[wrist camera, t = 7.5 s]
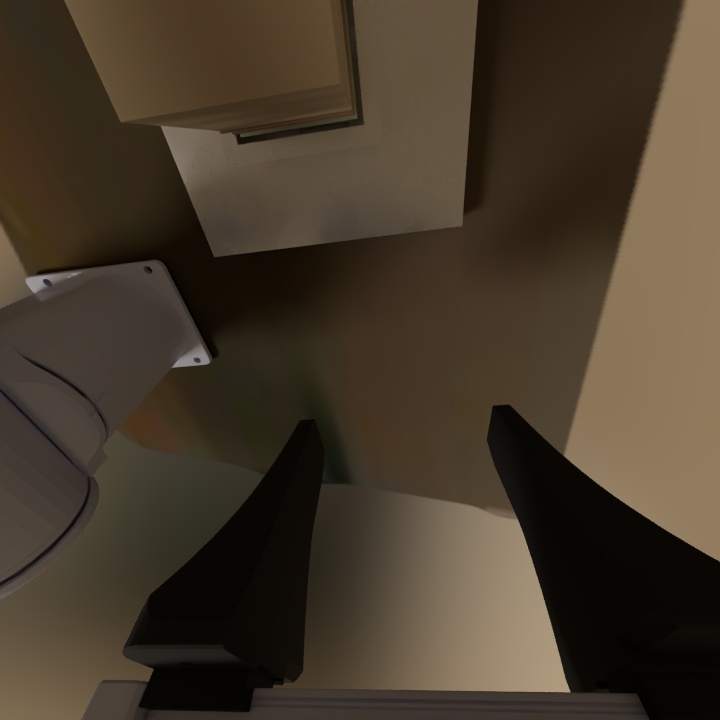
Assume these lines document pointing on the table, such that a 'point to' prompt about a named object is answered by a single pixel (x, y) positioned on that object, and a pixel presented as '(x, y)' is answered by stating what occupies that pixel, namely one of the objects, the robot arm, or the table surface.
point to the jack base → (351, 143)
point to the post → (222, 62)
